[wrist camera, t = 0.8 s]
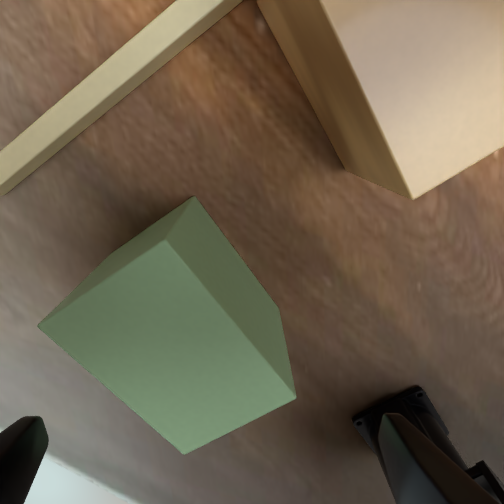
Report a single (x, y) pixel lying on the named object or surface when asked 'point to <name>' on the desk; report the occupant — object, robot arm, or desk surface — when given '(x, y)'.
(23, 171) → the straightedge
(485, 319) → the desk surface
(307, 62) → the maple block
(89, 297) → the green block
